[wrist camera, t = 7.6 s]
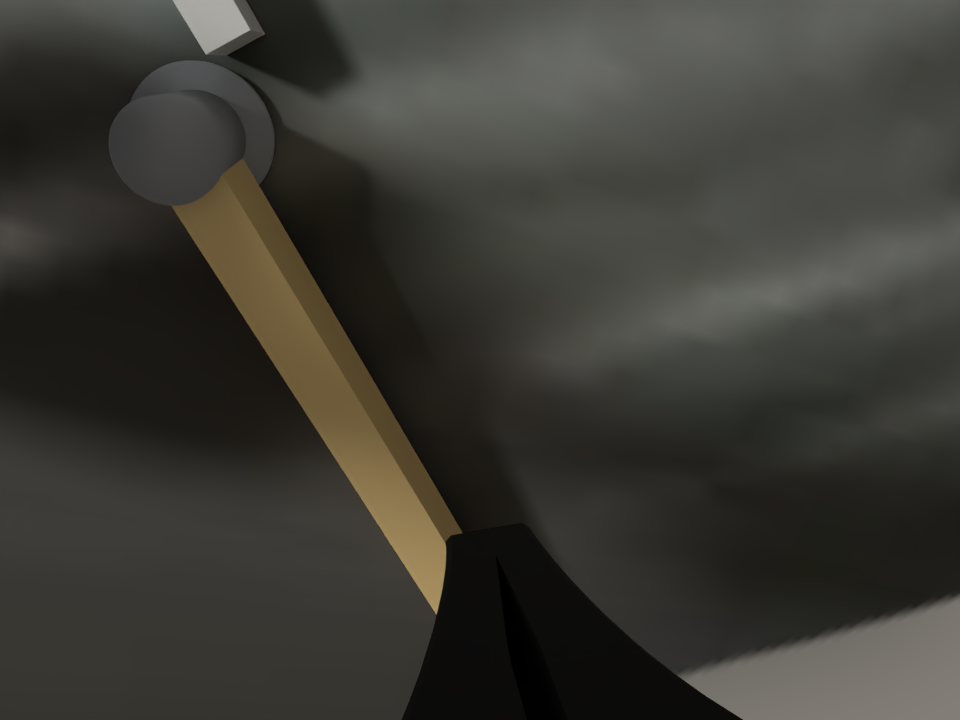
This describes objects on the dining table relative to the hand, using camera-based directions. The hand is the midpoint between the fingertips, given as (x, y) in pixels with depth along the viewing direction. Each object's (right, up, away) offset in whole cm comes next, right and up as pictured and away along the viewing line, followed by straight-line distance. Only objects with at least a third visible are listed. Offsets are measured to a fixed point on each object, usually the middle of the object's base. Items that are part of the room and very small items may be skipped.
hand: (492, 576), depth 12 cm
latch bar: (-3, +3, +7) cm, 8 cm away
